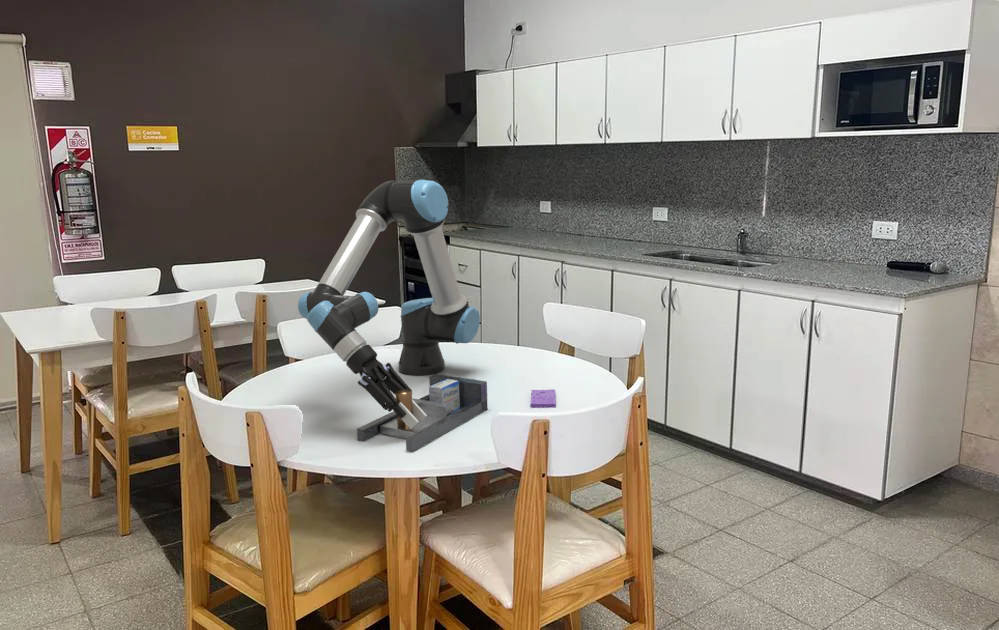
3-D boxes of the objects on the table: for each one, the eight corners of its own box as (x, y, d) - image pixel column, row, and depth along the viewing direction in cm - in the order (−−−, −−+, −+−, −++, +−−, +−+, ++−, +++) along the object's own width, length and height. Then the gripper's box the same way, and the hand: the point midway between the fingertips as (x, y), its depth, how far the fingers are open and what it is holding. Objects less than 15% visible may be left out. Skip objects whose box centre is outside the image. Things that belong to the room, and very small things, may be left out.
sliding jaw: (380, 433, 190) (378, 391, 187) (414, 416, 202) (412, 376, 199) (419, 441, 184) (417, 397, 182) (451, 423, 196) (450, 382, 194)
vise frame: (357, 440, 186) (355, 409, 184) (436, 401, 215) (435, 373, 213) (413, 452, 178) (411, 419, 176) (487, 409, 206) (486, 381, 205)
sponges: (555, 395, 219) (555, 389, 218) (555, 409, 206) (555, 402, 206) (531, 395, 219) (531, 389, 219) (530, 409, 207) (530, 403, 207)
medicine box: (443, 419, 199) (442, 388, 198) (429, 417, 202) (428, 385, 200) (460, 411, 206) (459, 380, 204) (447, 408, 208) (445, 378, 206)
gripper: (365, 354, 198) (424, 420, 196) (329, 371, 183) (393, 443, 180) (381, 335, 196) (442, 402, 193) (346, 352, 180) (412, 424, 178)
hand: (418, 422), depth 187 cm, fingers closed on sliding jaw, 4 cm apart
